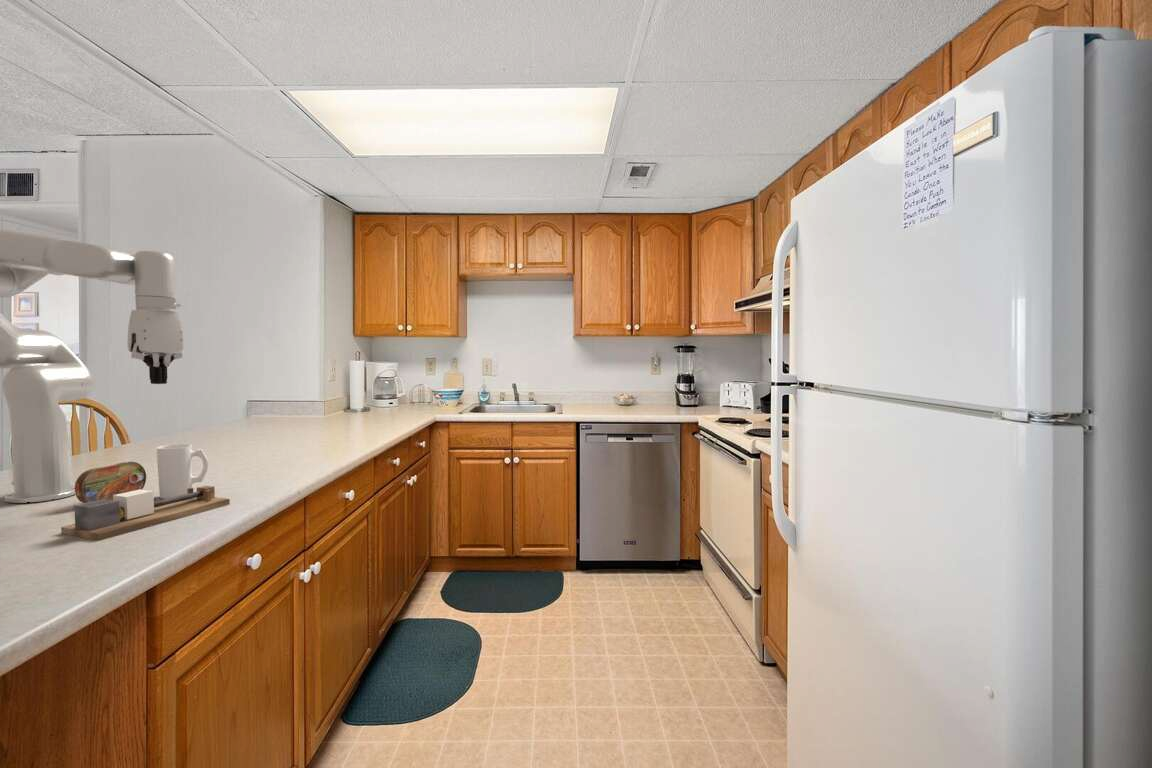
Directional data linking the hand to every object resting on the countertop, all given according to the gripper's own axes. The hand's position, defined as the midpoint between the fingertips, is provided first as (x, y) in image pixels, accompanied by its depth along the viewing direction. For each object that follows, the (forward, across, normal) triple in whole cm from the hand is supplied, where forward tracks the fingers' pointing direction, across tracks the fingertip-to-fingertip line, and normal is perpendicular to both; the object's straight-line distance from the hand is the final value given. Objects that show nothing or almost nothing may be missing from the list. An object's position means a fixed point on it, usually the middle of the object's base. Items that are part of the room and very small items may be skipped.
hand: (158, 383), depth 131 cm
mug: (+27, -3, +3) cm, 28 cm away
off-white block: (+26, +16, +15) cm, 34 cm away
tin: (+27, +6, -8) cm, 29 cm away
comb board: (+27, +12, +15) cm, 33 cm away
